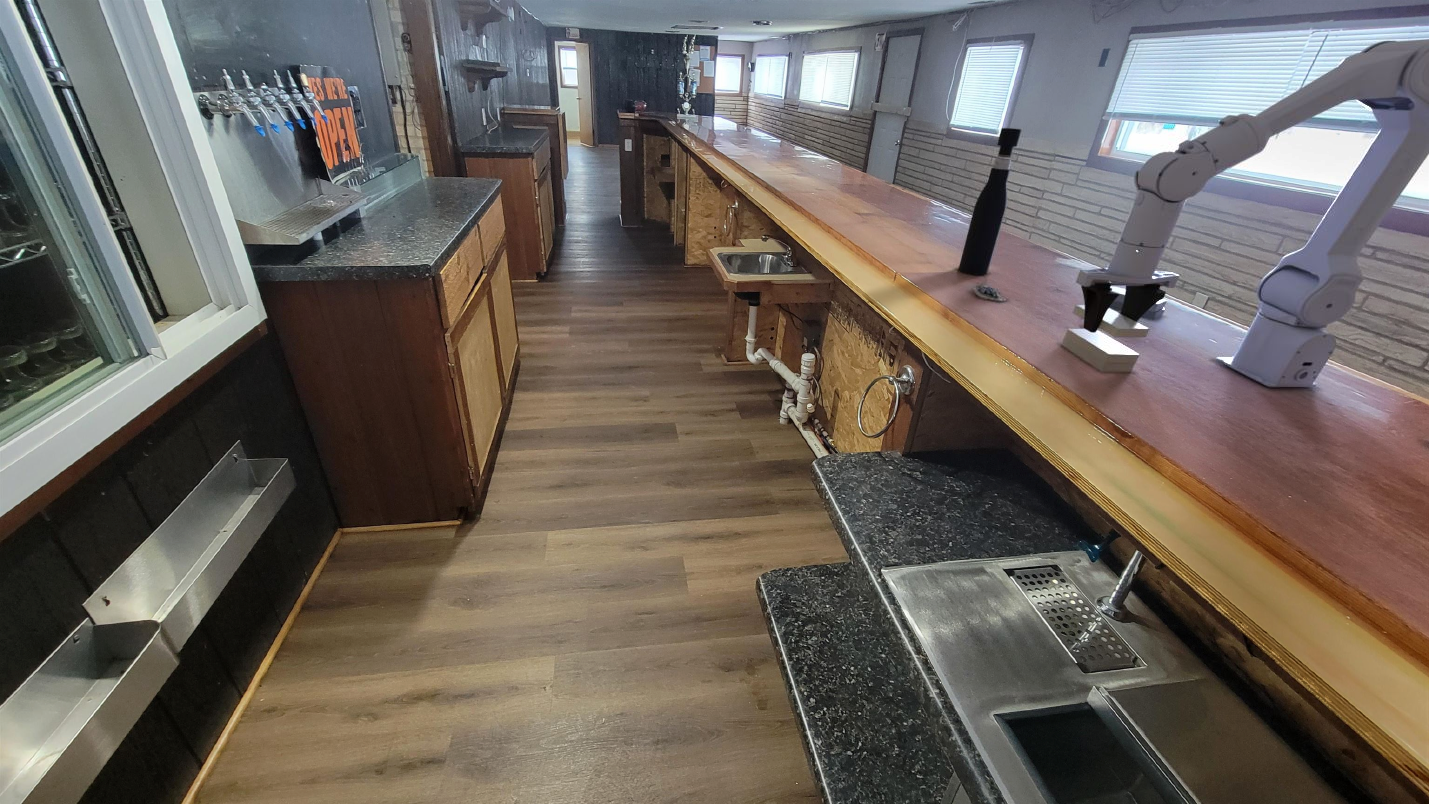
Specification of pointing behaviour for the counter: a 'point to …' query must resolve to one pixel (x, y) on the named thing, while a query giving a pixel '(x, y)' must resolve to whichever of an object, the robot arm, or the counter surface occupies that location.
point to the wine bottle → (989, 210)
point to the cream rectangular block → (1100, 350)
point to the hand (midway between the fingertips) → (1105, 330)
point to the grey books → (1150, 314)
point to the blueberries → (988, 293)
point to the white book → (1116, 323)
